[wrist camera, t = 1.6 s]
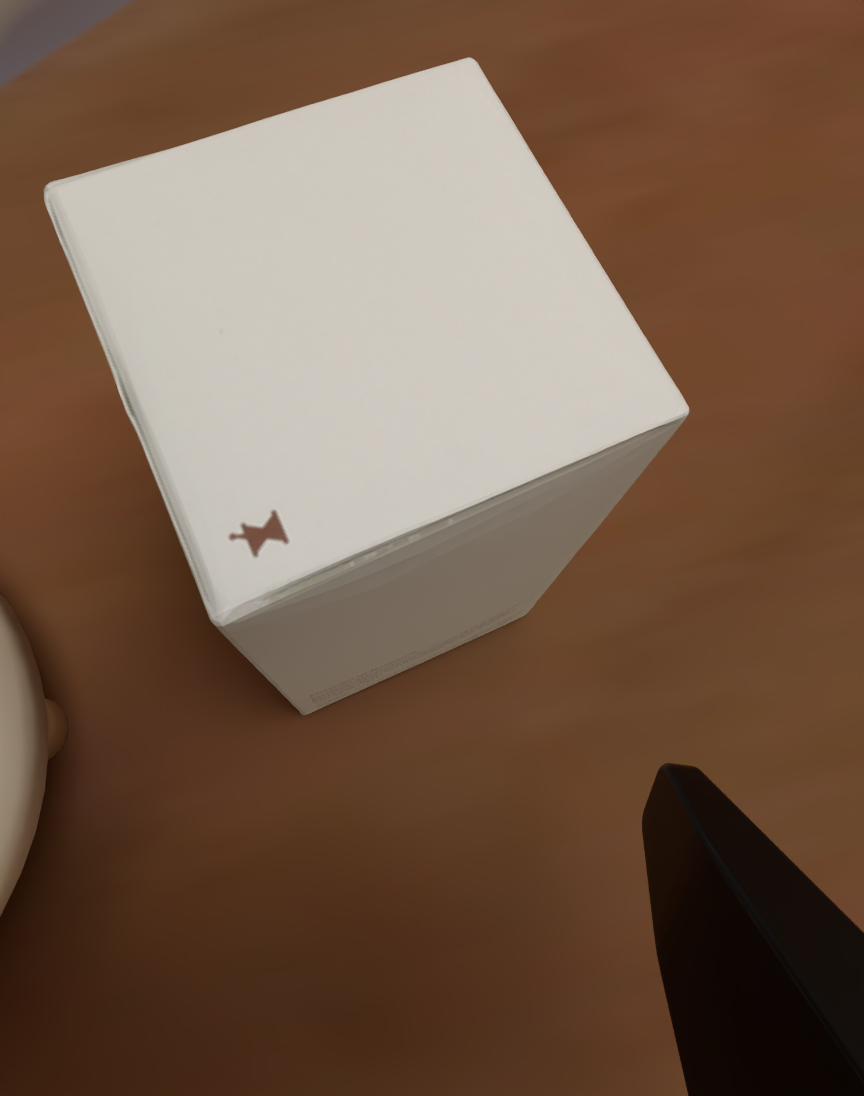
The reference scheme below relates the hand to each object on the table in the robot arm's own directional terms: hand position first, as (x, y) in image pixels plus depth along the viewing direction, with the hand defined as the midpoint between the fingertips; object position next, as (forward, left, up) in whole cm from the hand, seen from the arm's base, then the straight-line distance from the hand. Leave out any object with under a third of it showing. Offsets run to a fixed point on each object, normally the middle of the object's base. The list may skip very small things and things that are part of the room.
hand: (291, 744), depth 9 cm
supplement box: (+6, +3, -12) cm, 14 cm away
